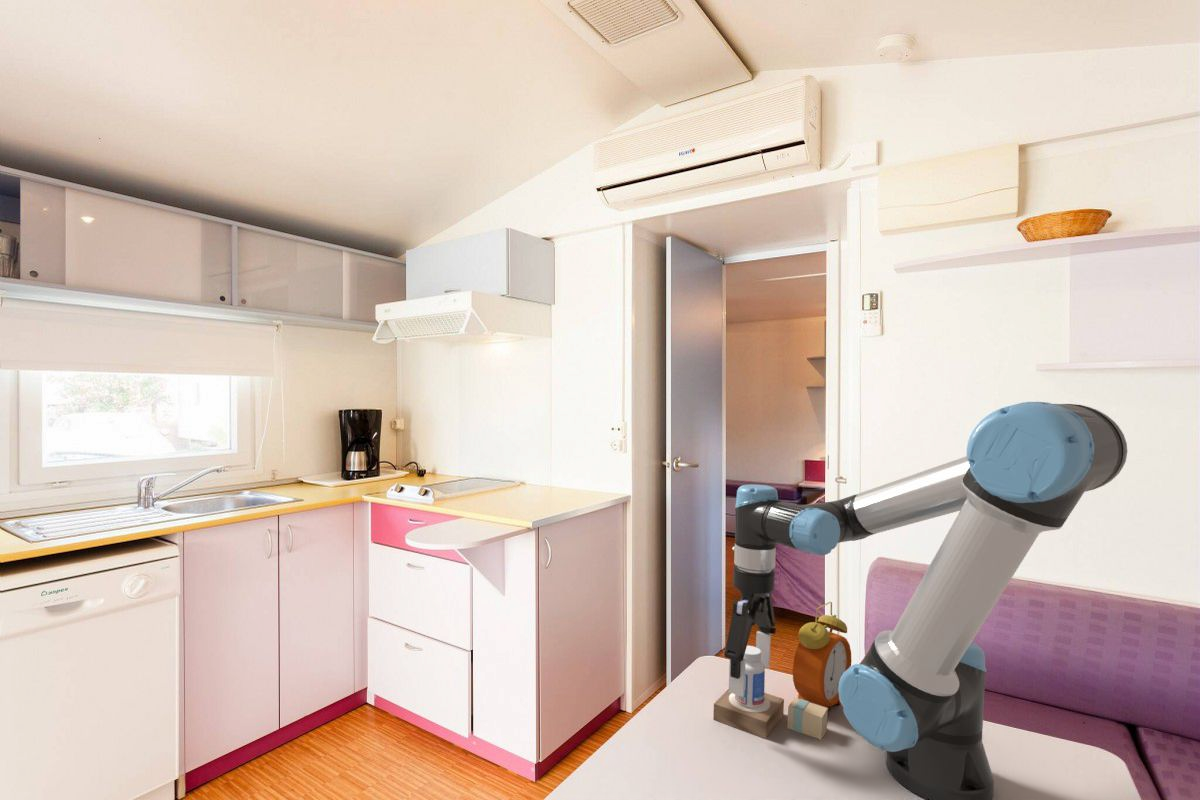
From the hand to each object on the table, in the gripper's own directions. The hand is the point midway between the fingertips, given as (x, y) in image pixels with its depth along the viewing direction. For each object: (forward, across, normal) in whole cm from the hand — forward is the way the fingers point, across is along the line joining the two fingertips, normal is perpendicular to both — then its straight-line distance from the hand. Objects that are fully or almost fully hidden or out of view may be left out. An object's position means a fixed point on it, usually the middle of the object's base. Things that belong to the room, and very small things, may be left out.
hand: (750, 679), depth 112 cm
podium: (+7, 0, 0) cm, 7 cm away
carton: (+7, -3, +10) cm, 13 cm away
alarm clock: (+7, -13, +10) cm, 18 cm away
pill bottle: (+4, 0, 0) cm, 4 cm away
